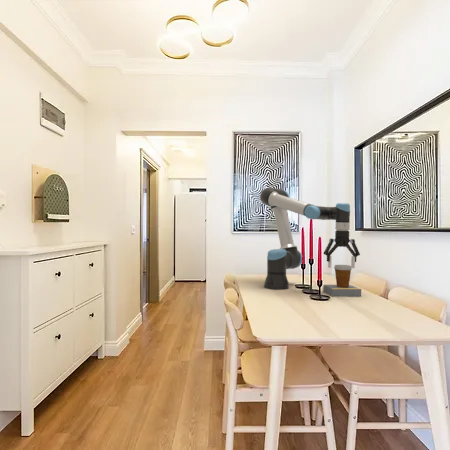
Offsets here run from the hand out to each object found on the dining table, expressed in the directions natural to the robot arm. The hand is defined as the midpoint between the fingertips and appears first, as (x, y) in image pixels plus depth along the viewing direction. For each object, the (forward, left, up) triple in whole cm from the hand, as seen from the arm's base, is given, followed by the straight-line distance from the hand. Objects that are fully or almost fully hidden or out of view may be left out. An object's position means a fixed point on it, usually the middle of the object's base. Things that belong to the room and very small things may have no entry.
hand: (341, 267), depth 187 cm
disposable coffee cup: (+1, 0, -11) cm, 11 cm away
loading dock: (0, 0, -15) cm, 15 cm away
